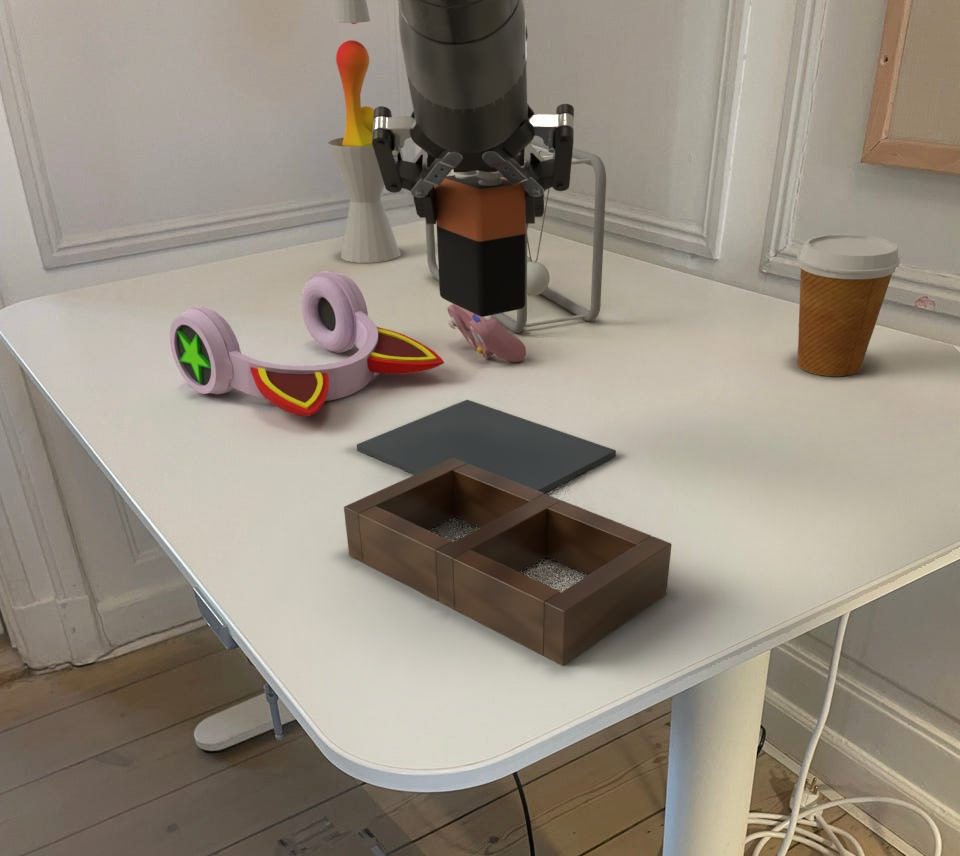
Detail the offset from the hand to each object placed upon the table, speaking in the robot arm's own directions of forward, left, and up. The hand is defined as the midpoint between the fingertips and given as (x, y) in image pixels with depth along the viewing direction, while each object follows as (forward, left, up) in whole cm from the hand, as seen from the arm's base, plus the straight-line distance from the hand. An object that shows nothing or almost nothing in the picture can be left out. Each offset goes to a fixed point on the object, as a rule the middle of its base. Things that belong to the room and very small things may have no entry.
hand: (481, 213), depth 77 cm
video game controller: (+17, -18, -20) cm, 32 cm away
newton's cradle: (+29, -35, -20) cm, 49 cm away
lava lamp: (+59, -38, -20) cm, 73 cm away
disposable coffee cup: (-13, -38, -20) cm, 45 cm away
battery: (-1, +1, -7) cm, 7 cm away
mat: (-1, +1, -19) cm, 20 cm away
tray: (-16, +15, -19) cm, 29 cm away
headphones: (+24, 0, -20) cm, 31 cm away
